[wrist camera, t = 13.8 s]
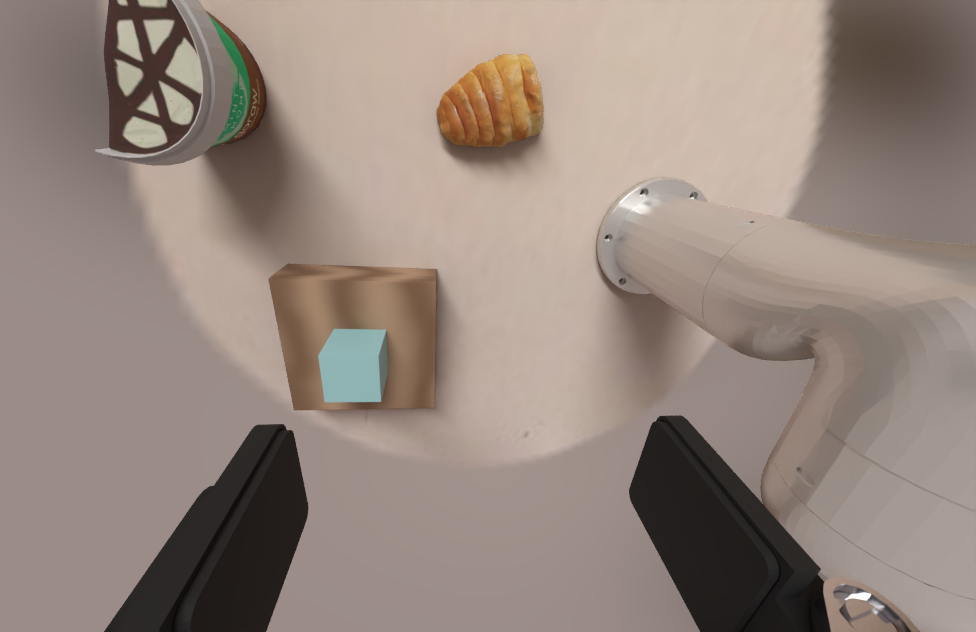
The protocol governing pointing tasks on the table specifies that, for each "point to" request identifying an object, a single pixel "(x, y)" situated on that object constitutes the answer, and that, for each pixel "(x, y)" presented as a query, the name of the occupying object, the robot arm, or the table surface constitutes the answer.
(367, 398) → the teal cube
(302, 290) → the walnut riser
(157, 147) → the food container
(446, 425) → the table surface
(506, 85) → the pastry
